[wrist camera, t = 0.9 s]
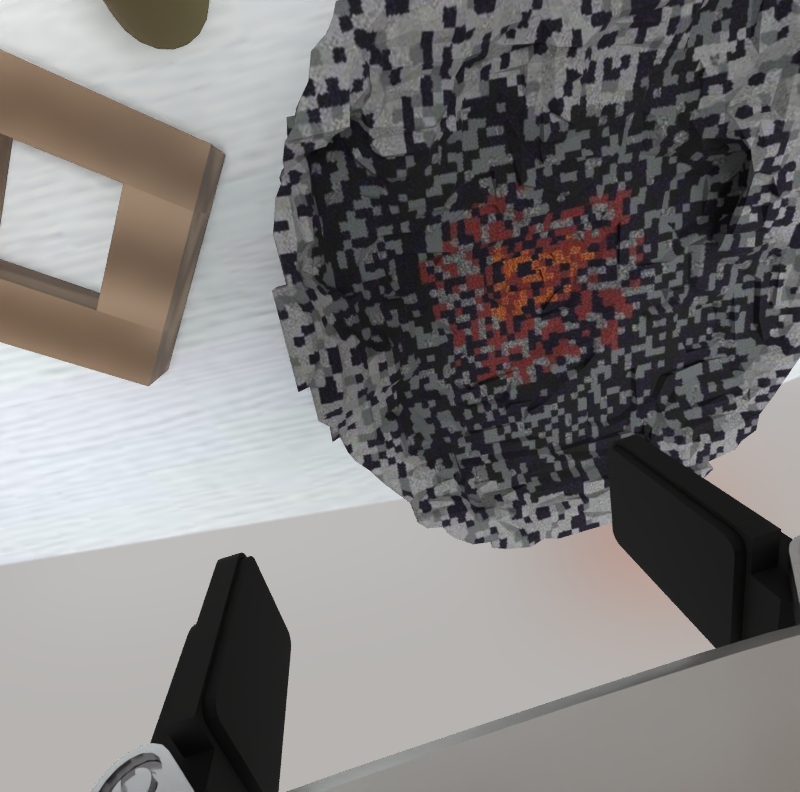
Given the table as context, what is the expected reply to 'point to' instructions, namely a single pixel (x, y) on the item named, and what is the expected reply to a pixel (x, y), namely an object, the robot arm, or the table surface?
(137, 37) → the olive-brown rounded peg
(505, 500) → the bowl
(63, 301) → the socket block
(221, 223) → the table surface
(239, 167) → the table surface
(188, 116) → the table surface
